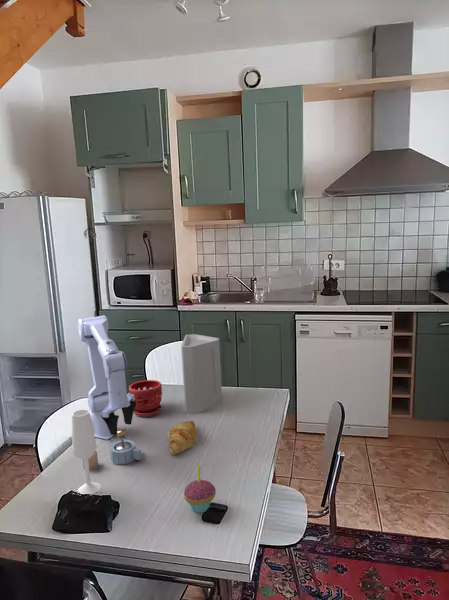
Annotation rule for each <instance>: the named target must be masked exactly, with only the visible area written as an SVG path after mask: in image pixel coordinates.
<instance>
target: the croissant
mask: <svg viewBox="0 0 449 600" xmlns="http://www.w3.org/2000/svg"><path fill="white" fill-rule="evenodd" d="M197 432H198V431H197V428H196V424H195V422H194V421H193V420H188V421H185V422H179V423H176V424H174V426H172V427H171V428H170V430H168V433H167V436H168V443H169V448H170V449H169V451H170V455H172V456H174V455H178V454H181V453H182V452H183V453H184V452H185V451H187V450H188V449H190V448H191V447H192V446H194V445H195V443H196V439H197Z"/></svg>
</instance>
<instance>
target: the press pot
mask: <svg viewBox="0 0 449 600" xmlns="http://www.w3.org/2000/svg"><path fill="white" fill-rule="evenodd" d="M124 443H128V444H130V448H129V449H127V450H123V451H118V450H116V446H117V445H118V444H121V440H118V441H115V442H112V443H110V444H109V454H110V461H111V463H113V464H114V465H120V466H121V465H127V464H130V463H132V462H133V461H135V460H137V461H139V460H141V459H142V450H141V449H140V448H137V444H136V442H135V441H134V440H132V439H131V440H130V439H124Z"/></svg>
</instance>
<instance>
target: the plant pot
mask: <svg viewBox="0 0 449 600" xmlns="http://www.w3.org/2000/svg"><path fill="white" fill-rule="evenodd" d="M144 388H145V389H144ZM128 392H129V394H133V395H134V397H135V400H134V401H133V402H136V407H135V409H134V412H133V415H134V414H135V415H136V416H137V417H138V416H139V417H144V418H145V417H146V418H147V417H152V416H153V417H154V416H156V415H157V414H159V413H160V412H161V411H162V409H163V408H162V405H161V402H162V395H163V388H162V383H161V381H159V380H155V379H148V380H147V379H145V380H140V381H136V382H133V383H132V384H130V385H129V386H128ZM129 394H128V395H129Z"/></svg>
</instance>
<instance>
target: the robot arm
mask: <svg viewBox="0 0 449 600" xmlns="http://www.w3.org/2000/svg"><path fill="white" fill-rule="evenodd" d="M109 327H110V326H109V320H108V318H107V316H105V315H98V316H92V317H86V318H78V321H77V328H78V335H79V339H80V341H81V342H84V343H85V345H86V347H87V353H88V356H89V357H88V358H89V363H90V371H91V374H92V380H93V387H92V388H91V389H90V390H89V391H88V393H87V404H88V410H89V413H90V417H91V422H92V427H93V431H94V436H95V438H98V439H102V440H110V439H111V438H113V437H114V436H117V430H118V429H120V428H118V421H119V417H120V415H118V414H116V413H115V412H116V411H118V410H120V409H121V411H122V416H123V422H124V424H125V425H128V426H129V425H132V421H133V416H134V409H135V407H136V402H133V401H134V400H135V397H134V395H133V394H128V392H127V381H126V371H125V370H127V367H128V364H127V363H128V362H127V358H126V355H125V352H124V351H122V350H119V349H118V346H117V344H116V343H115V341H114V340H113V339H111V338H109V335H108V331H109Z"/></svg>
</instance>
